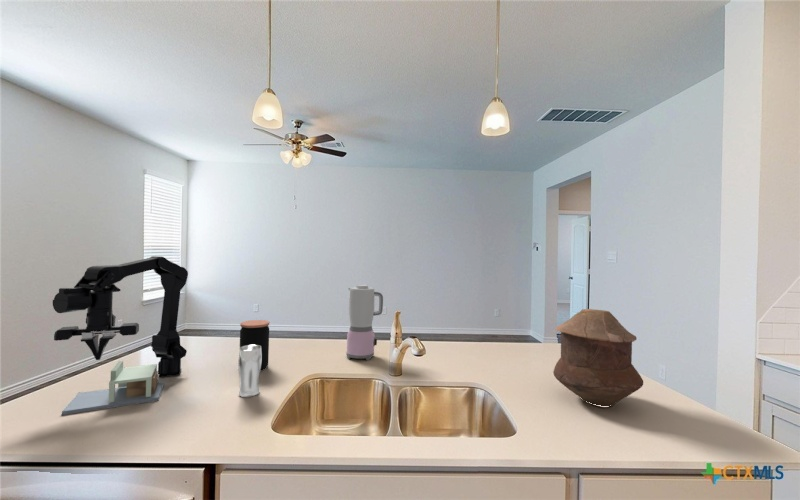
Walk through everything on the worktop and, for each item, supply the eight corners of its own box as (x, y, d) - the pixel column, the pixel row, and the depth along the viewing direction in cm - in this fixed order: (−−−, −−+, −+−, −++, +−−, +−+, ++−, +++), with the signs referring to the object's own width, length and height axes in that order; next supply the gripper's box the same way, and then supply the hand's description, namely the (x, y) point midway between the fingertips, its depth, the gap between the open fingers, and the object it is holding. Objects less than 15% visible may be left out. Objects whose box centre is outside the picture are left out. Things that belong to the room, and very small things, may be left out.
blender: (343, 360, 149) (345, 286, 149) (348, 352, 161) (350, 283, 161) (380, 362, 149) (382, 287, 149) (382, 353, 161) (384, 284, 161)
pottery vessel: (593, 424, 99) (596, 318, 99) (535, 389, 123) (538, 304, 124) (663, 414, 106) (665, 316, 106) (595, 383, 130) (597, 303, 130)
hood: (156, 381, 117) (157, 356, 117) (150, 396, 106) (151, 368, 106) (118, 386, 113) (119, 360, 113) (108, 402, 101) (109, 373, 101)
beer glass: (265, 391, 115) (266, 346, 115) (249, 399, 109) (251, 351, 109) (248, 388, 118) (249, 343, 118) (232, 396, 111) (233, 348, 111)
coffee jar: (274, 366, 140) (275, 321, 140) (252, 374, 130) (254, 326, 130) (254, 362, 144) (256, 318, 144) (232, 370, 134) (234, 323, 134)
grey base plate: (163, 384, 119) (164, 372, 119) (158, 400, 106) (158, 387, 106) (78, 395, 108) (79, 383, 108) (61, 415, 96) (62, 400, 96)
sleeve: (157, 385, 115) (157, 370, 115) (154, 393, 109) (154, 377, 109) (130, 389, 112) (131, 373, 112) (126, 397, 105) (126, 381, 105)
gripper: (142, 302, 116) (141, 349, 116) (68, 305, 108) (66, 356, 107) (136, 307, 107) (134, 358, 107) (54, 311, 98) (52, 366, 98)
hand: (98, 359), depth 105 cm, fingers closed
